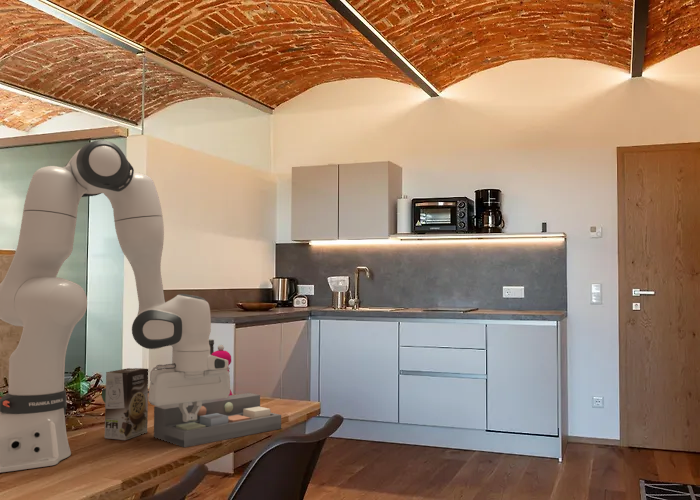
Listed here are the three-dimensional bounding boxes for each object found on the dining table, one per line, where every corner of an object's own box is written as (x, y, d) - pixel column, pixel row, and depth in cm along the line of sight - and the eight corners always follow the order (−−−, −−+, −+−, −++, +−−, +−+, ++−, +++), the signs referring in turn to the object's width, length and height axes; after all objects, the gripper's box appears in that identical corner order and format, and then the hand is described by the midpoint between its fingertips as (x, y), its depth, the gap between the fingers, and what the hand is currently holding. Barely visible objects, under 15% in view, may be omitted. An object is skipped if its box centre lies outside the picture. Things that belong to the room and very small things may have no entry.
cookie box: (126, 440, 166) (127, 372, 167) (103, 438, 168) (104, 371, 169) (148, 432, 175) (149, 368, 175) (127, 430, 177) (127, 367, 177)
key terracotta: (233, 428, 171) (233, 420, 171) (221, 425, 175) (221, 417, 175) (249, 425, 175) (249, 417, 175) (238, 422, 178) (238, 414, 179)
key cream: (254, 419, 176) (254, 411, 176) (243, 416, 180) (243, 408, 180) (270, 416, 179) (270, 409, 180) (258, 414, 183) (258, 406, 183)
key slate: (210, 427, 167) (211, 418, 167) (199, 424, 170) (199, 415, 171) (228, 424, 170) (228, 416, 170) (216, 421, 174) (216, 413, 174)
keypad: (184, 447, 159) (184, 414, 160) (153, 437, 169) (154, 406, 170) (281, 428, 179) (281, 399, 180) (248, 420, 189) (249, 392, 190)
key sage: (187, 437, 162) (187, 428, 162) (175, 433, 166) (176, 425, 166) (205, 433, 166) (205, 425, 166) (194, 430, 169) (194, 422, 169)
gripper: (157, 366, 156) (155, 428, 156) (234, 360, 170) (233, 417, 170) (144, 364, 161) (142, 424, 160) (220, 358, 175) (219, 414, 174)
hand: (189, 421), depth 165 cm, fingers closed
